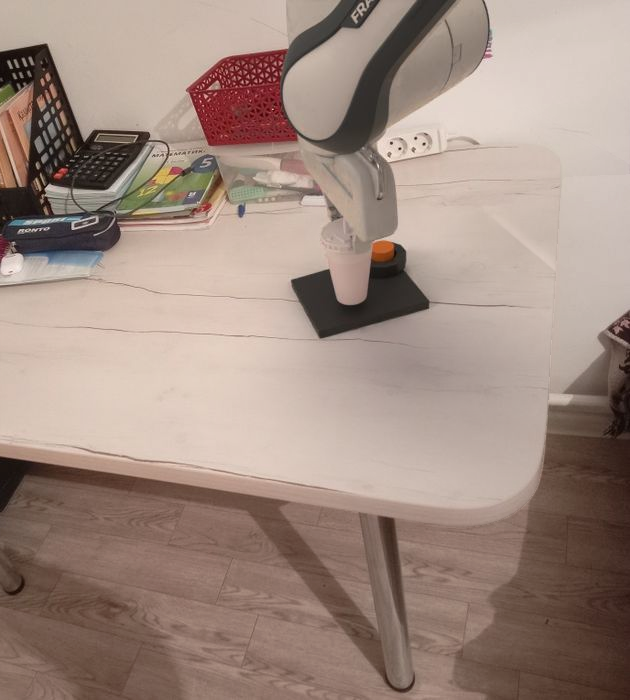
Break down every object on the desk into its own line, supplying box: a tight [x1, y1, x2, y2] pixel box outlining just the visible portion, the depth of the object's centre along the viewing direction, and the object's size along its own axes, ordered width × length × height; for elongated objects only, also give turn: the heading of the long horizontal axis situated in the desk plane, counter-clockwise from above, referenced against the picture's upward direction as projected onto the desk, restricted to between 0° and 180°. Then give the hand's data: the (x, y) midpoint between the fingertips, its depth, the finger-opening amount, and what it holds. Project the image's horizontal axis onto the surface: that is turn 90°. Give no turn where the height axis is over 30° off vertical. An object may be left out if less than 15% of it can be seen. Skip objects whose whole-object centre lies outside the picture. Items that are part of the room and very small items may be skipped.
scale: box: [290, 241, 430, 339], centre depth 81 cm, size 15×12×3 cm
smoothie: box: [319, 217, 376, 305], centre depth 74 cm, size 6×6×14 cm
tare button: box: [371, 239, 394, 262], centre depth 82 cm, size 3×3×2 cm
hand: (348, 233), depth 72 cm, fingers closed on smoothie, 6 cm apart
